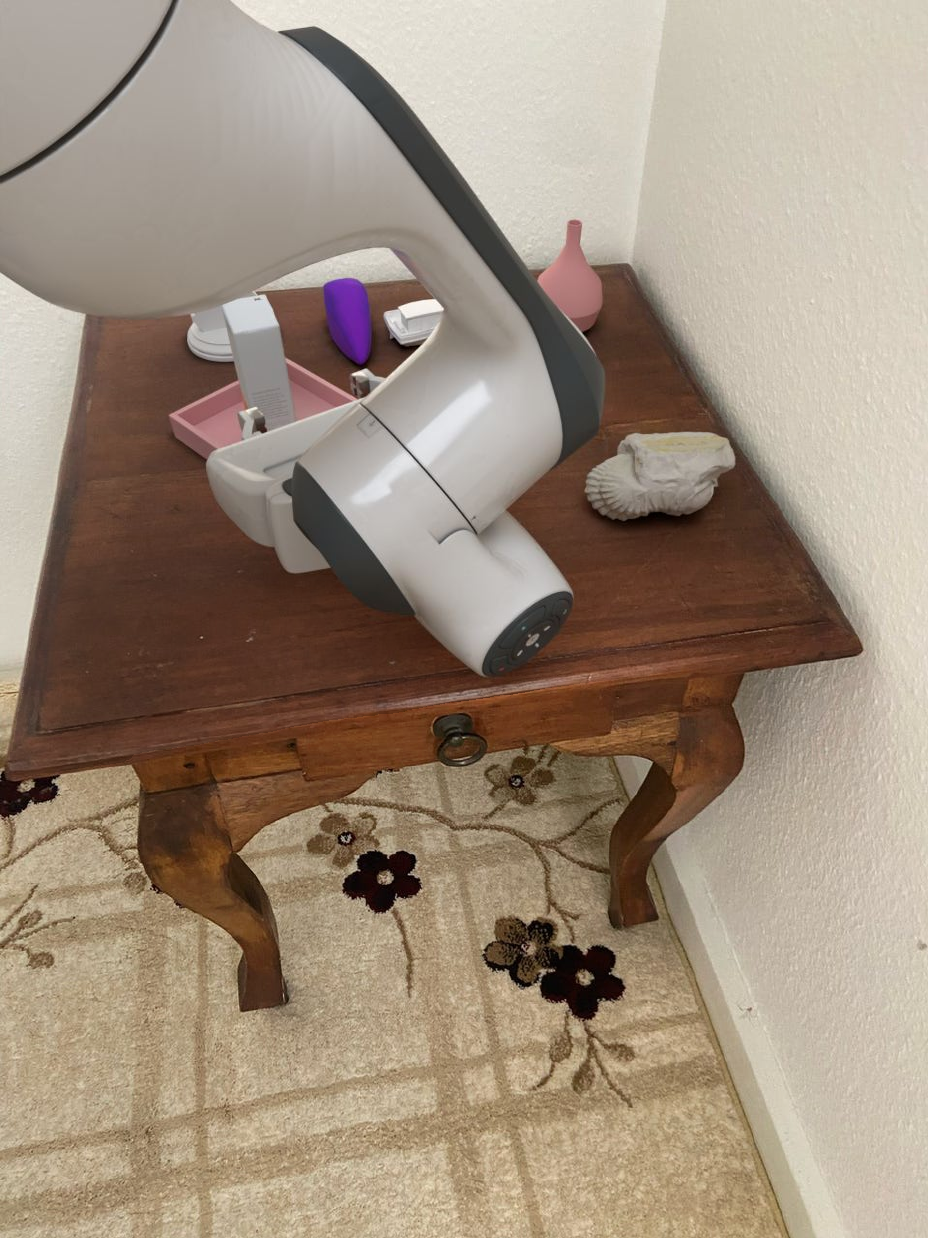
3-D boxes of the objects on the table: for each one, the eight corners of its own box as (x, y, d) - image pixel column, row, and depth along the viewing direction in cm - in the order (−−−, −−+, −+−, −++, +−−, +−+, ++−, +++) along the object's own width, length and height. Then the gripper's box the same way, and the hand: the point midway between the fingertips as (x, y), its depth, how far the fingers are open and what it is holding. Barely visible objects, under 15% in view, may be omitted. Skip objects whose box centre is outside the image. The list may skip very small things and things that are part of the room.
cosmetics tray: (251, 491, 80) (246, 468, 78) (174, 437, 85) (168, 414, 83) (366, 424, 87) (363, 402, 85) (288, 378, 92) (284, 356, 90)
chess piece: (286, 351, 96) (262, 212, 85) (197, 369, 93) (160, 229, 82) (265, 309, 102) (241, 175, 91) (181, 326, 100) (145, 190, 88)
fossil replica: (562, 497, 79) (630, 569, 74) (569, 428, 72) (644, 501, 67) (666, 447, 83) (738, 512, 78) (682, 376, 76) (762, 442, 71)
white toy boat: (381, 329, 99) (379, 301, 97) (479, 309, 102) (479, 281, 100) (399, 355, 95) (397, 327, 93) (499, 333, 98) (500, 306, 96)
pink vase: (517, 330, 99) (522, 223, 90) (558, 305, 103) (567, 200, 94) (571, 354, 95) (582, 246, 86) (612, 328, 99) (627, 221, 90)
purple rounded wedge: (338, 346, 89) (316, 265, 98) (342, 385, 93) (320, 304, 102) (384, 340, 90) (358, 261, 99) (386, 378, 94) (361, 299, 103)
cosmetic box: (244, 413, 87) (219, 300, 78) (286, 404, 88) (266, 292, 79) (257, 448, 83) (232, 333, 74) (300, 438, 84) (281, 323, 75)
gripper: (520, 406, 61) (417, 322, 69) (250, 511, 53) (168, 403, 61) (516, 477, 66) (420, 391, 73) (267, 583, 58) (189, 474, 66)
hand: (304, 397), depth 67 cm, fingers open, 8 cm apart
